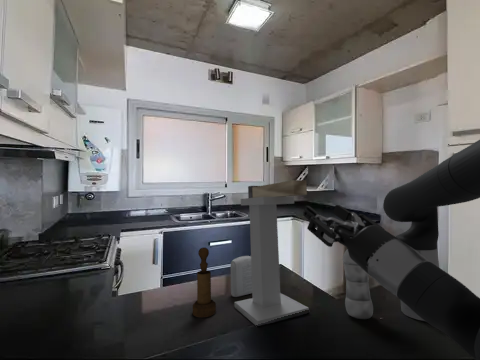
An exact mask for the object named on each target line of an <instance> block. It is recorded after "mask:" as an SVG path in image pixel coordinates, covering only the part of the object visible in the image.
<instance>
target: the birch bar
mask: <svg viewBox="0 0 480 360" xmlns="http://www.w3.org/2000/svg"><path fill="white" fill-rule="evenodd" d="M307 187H308V186H307V180H306V179H304V180H299V179H297V180H296V179H292V180H287V181H280V182H276V183H275V182H274V183H269V184H264V185H249V186H247V194H248V195H247V198H256V197H290V196H294V197H296V196H307V195H308V191H307V190H308V188H307Z"/></svg>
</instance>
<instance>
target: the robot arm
mask: <svg viewBox="0 0 480 360" xmlns="http://www.w3.org/2000/svg"><path fill="white" fill-rule="evenodd" d="M478 199H480V139H478V140H476V141H475V142H473V143H472V144H469V146H466V147H465V148H463V149H461V150H460V151H458V152H456V153H455V154H453V155H451V156H450V157H448V158H446V159H445V160H443V161H442V162H440V163H439V164H438V165H436V166H434V167H433V168H430V169H429V170H427V171H426V172H424V173H423V174H421V175H419V176H418V177H416V178H415V179H413V180H411V181H410V182H407V183H405V184H402V185H401V186H400V185H399V186H398V187H395V188H392V189H391V190H390V191H388V193H387V194H386V195H385V197H384V200H383V203H382V207H383V208H382V209H383V211H384V213H385V215H386V216H387V217H388V218H389V219H390V220H391V221H394V222H398V223H411V226H410V227H409V228H408V229H407V230H406V231H404V232H402V233H399V234H397V235H393V234H392V233H390V232H389V231H388V230H386V229H385V228H384V227H382V226H381V225H379V223H377V222H375V221H374V220H372V219H371V218H369V217H368V216H367V215H365V214H363V213H359V214H357V213H356V212H351V211H349V210H347V209H346V208H345V207H343V206H342V205H340V204H336V205H335V206H334V209H333V214H334V215H335V216H336V217H338V218H340V219H337V218H335V217H333V216H331V217H327V216H326V217H325V216H323V215H321V214H320V213H319V212H317V210H315V209H314V208H313V207H311V206H310V205H305V206H304V209H303V211H302V216H304V218H306V219H307V220H308V221H309V223H308V225H307V228H306V230H308V231H309V232H311V233H312V234H313V235H314V236H315V237H316V238H317V239H318V240H320V241H321V242H322V243H323V244H324V245H325V246H327V247H329V248H331V247H333V244H334V243H339V244H340V245H342V246H345V247H346V248H347V249H348V253H349V256H350V258H351V259H352V260H353V261H354V262H355V263H356V264H357V265H359V266H360V267H361V268H362V269H363V270H364V271H365V272H367V273H368V276H370V277H371V278H373V280H374V281H376V282H377V283H378V284H379V285H380V286H381V287H383V288H384V289H386V290H387V291H388V292H390V293H391V294H392V295H394V296H395V297H396V298H398V300H400V307H401V309H400V310H401V313H402V314H404V315H405V316H407V317H409V318H411V319H415V320H417V321H422V322H425V323H428V325H430V326H431V327H433V328H435V329H437V330H439V331H441V332H442V333H443V334H445V335H446V336H447V337H448V338H450V339H451V340H452V341H453V342H455V344H457V346H459V347H460V348H461V349H462V350H463V351H464V352H465V353H467V354H468V355H469V356H470V357H471V358H473V359H474V360H480V297H479V296H478V295H477V294H475V293H474V292H473V291H472V290H471V289H469V288H468V287H467V286H466V285H465V284H464V283H462V282H461V281H459V280H458V279H457V278H456V277H453V275H451V274H449V273H448V272H446V270H443V269H442V268H440V262H439V252H438V241H439V219H438V218H439V217H438V216H439V211H438V207H446V206H451V205H457V204H463V203H467V202H468V203H469V202H471V201H475V200H478ZM364 221H365V223H364ZM325 223H326V224H325ZM332 224H334V227H333V228H331V226H332ZM347 249H346V250H347Z"/></svg>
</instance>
